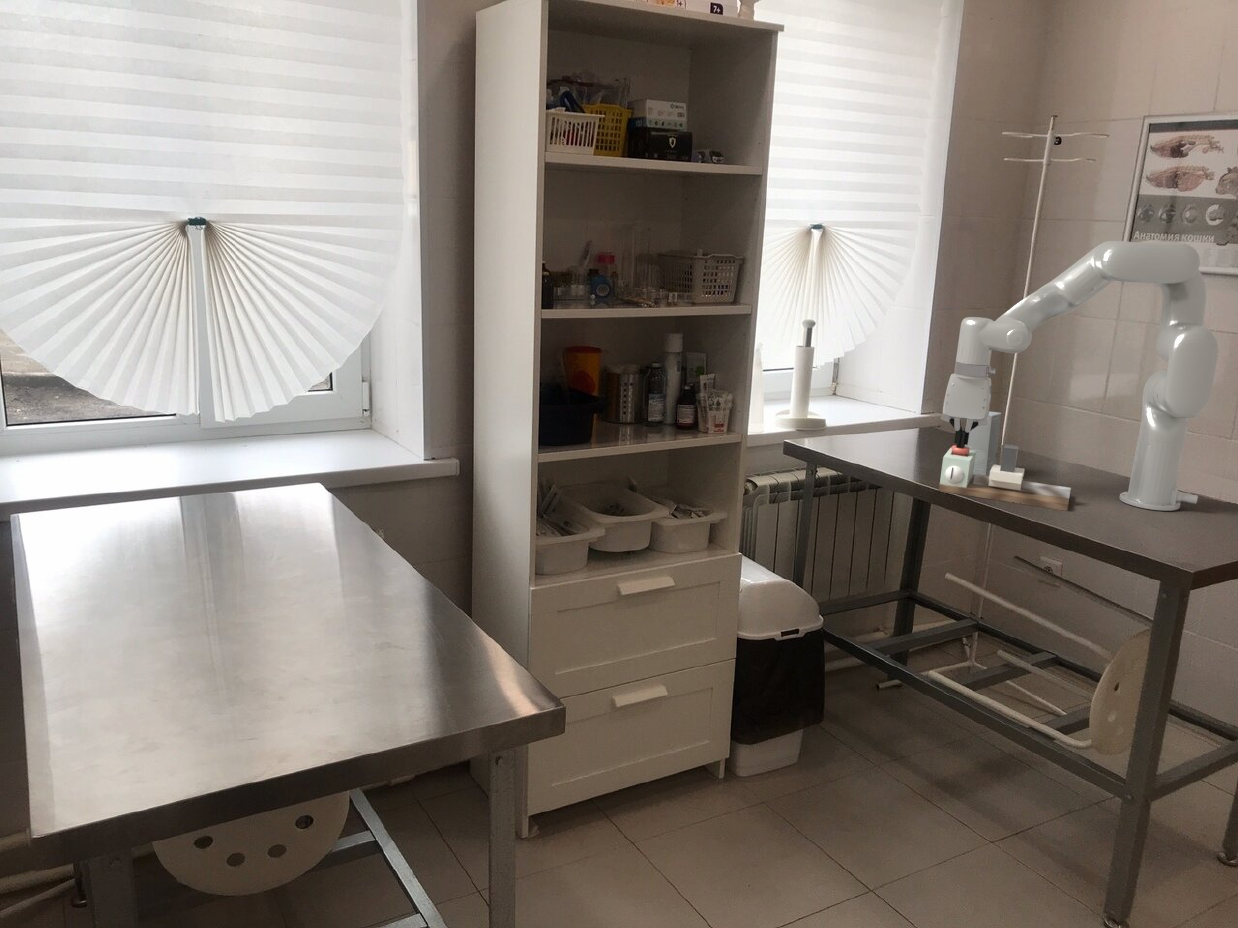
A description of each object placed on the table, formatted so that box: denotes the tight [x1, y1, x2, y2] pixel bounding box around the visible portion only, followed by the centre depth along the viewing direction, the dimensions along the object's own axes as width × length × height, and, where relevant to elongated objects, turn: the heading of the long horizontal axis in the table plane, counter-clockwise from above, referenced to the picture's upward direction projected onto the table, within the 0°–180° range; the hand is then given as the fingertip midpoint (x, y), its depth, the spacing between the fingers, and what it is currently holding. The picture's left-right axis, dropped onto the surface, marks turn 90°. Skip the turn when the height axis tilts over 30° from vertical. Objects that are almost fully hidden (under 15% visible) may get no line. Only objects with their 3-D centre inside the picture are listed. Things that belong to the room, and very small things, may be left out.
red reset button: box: [951, 444, 970, 457], centre depth 236 cm, size 4×4×3 cm
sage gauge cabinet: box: [939, 447, 976, 488], centre depth 237 cm, size 6×12×6 cm, turn 154°
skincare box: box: [965, 411, 1003, 476], centre depth 251 cm, size 8×7×16 cm
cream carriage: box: [988, 443, 1025, 490], centre depth 232 cm, size 7×8×9 cm
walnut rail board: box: [937, 474, 1072, 512], centre depth 233 cm, size 28×14×4 cm, turn 64°
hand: (960, 446), depth 236 cm, fingers closed
